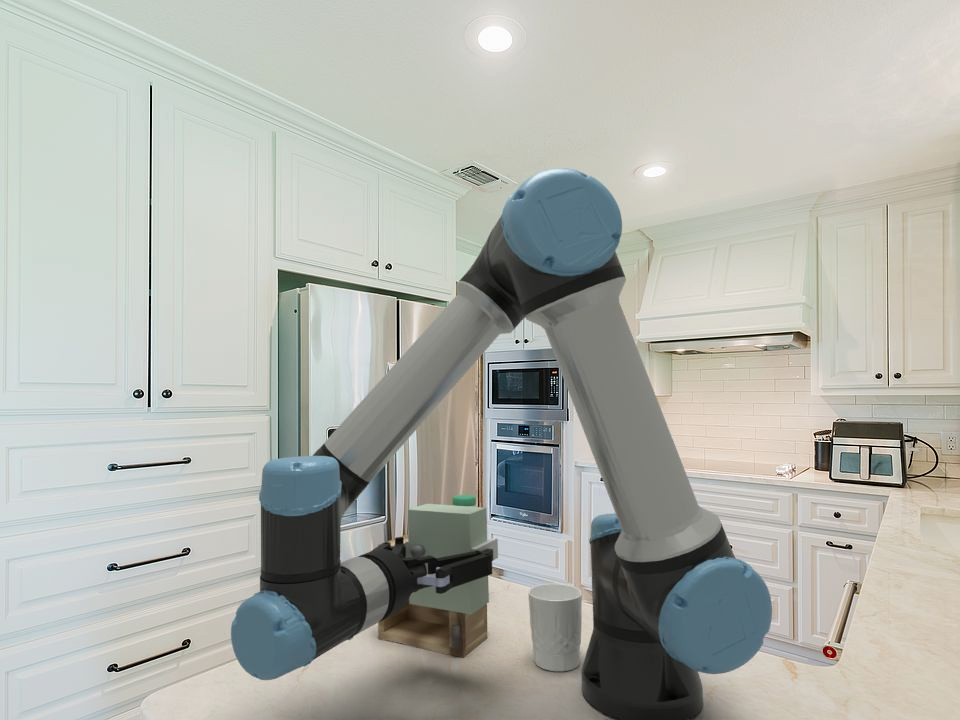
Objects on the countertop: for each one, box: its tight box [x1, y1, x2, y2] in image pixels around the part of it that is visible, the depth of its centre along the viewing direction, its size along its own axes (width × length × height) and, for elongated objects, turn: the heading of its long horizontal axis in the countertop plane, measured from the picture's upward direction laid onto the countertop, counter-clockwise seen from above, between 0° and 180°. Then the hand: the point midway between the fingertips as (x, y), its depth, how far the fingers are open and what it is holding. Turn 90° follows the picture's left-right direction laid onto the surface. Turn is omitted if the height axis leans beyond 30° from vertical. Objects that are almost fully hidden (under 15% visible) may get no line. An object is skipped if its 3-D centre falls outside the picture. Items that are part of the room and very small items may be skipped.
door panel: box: [407, 503, 490, 614], centre depth 78 cm, size 10×6×13 cm, turn 62°
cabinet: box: [377, 534, 488, 658], centre depth 91 cm, size 16×9×15 cm, turn 62°
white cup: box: [527, 583, 583, 672], centre depth 83 cm, size 8×8×10 cm
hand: (462, 544), depth 82 cm, fingers closed on door panel, 10 cm apart
